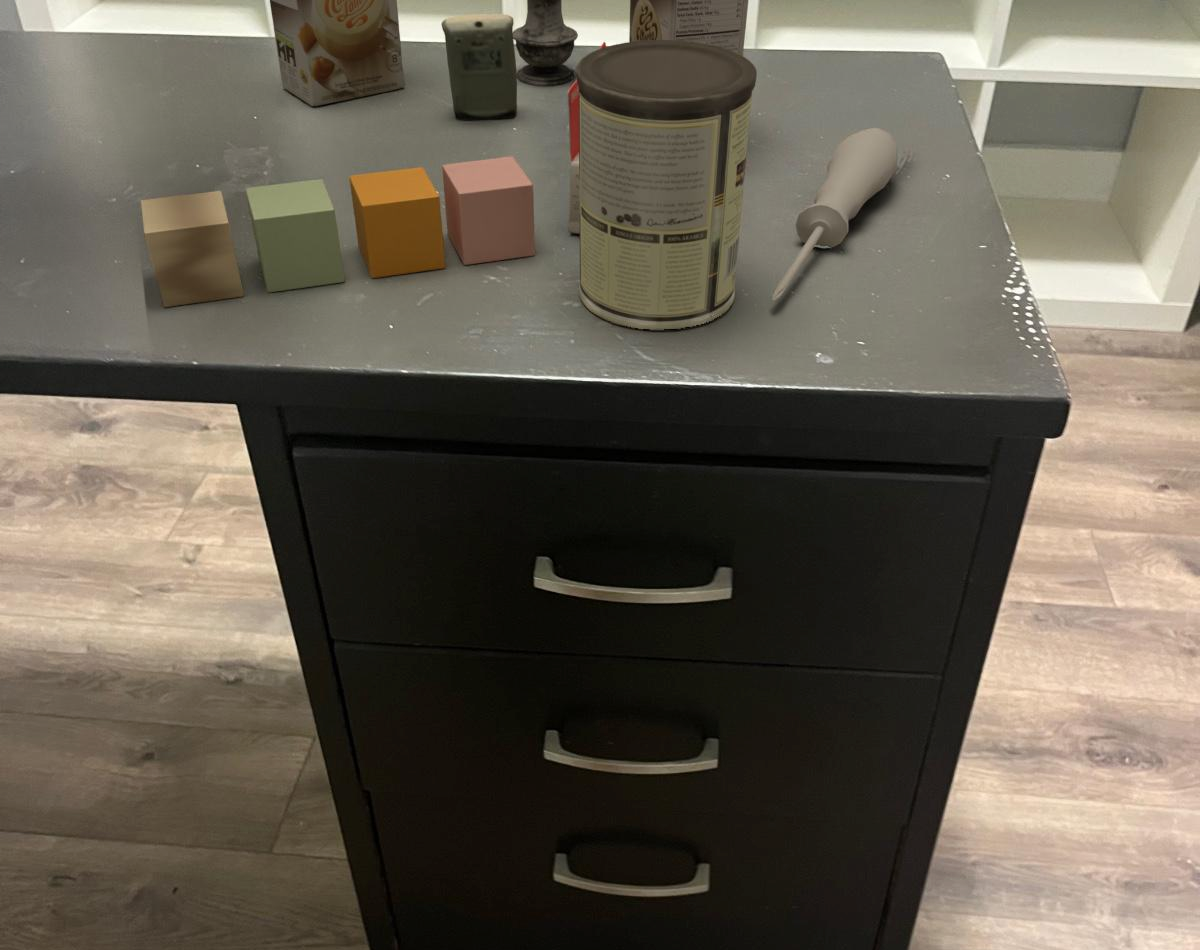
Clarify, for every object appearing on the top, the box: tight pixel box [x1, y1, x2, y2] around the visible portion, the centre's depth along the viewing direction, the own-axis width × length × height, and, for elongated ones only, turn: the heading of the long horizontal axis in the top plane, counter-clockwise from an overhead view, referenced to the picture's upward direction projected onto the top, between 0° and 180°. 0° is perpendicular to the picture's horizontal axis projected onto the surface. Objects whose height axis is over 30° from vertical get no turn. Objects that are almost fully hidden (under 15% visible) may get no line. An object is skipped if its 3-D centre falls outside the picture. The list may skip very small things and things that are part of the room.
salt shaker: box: [513, 0, 579, 87], centre depth 103 cm, size 6×6×12 cm
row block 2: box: [245, 178, 346, 293], centre depth 77 cm, size 5×5×5 cm
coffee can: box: [575, 40, 758, 331], centre depth 72 cm, size 10×10×14 cm
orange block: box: [348, 166, 446, 279], centre depth 78 cm, size 5×5×5 cm
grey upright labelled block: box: [441, 13, 518, 121], centre depth 97 cm, size 6×5×8 cm
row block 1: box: [140, 190, 245, 308], centre depth 75 cm, size 5×5×5 cm
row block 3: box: [441, 156, 536, 266], centre depth 80 cm, size 5×5×5 cm
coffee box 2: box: [628, 0, 749, 57], centre depth 91 cm, size 9×6×16 cm
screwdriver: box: [771, 127, 898, 302], centre depth 82 cm, size 5×25×4 cm, turn 155°
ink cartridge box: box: [566, 41, 607, 235], centre depth 83 cm, size 2×11×10 cm, turn 167°
